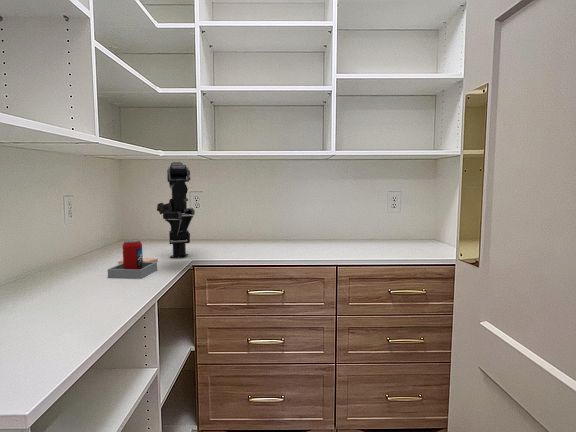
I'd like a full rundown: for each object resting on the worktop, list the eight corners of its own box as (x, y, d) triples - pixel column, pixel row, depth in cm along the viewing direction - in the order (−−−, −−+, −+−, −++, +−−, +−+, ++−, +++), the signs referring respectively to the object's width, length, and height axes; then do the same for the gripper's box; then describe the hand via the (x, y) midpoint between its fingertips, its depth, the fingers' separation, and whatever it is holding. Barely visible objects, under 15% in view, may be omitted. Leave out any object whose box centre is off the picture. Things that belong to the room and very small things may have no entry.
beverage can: (145, 272, 138) (143, 240, 137) (125, 275, 134) (124, 242, 133) (140, 269, 144) (139, 238, 142) (122, 271, 140) (120, 240, 139)
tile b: (146, 260, 162) (146, 257, 162) (157, 261, 160) (157, 258, 160) (136, 263, 156) (136, 260, 156) (148, 264, 154) (147, 261, 154)
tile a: (123, 260, 161) (123, 258, 160) (137, 260, 161) (137, 258, 161) (118, 264, 155) (118, 261, 154) (133, 263, 155) (133, 261, 155)
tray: (126, 269, 146) (126, 261, 145) (157, 270, 144) (156, 262, 144) (107, 277, 133) (107, 269, 133) (141, 278, 132) (140, 270, 132)
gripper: (169, 195, 159) (170, 231, 160) (149, 197, 140) (150, 237, 142) (194, 195, 158) (195, 231, 159) (177, 197, 139) (178, 238, 141)
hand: (180, 234), depth 150 cm, fingers open, 9 cm apart
